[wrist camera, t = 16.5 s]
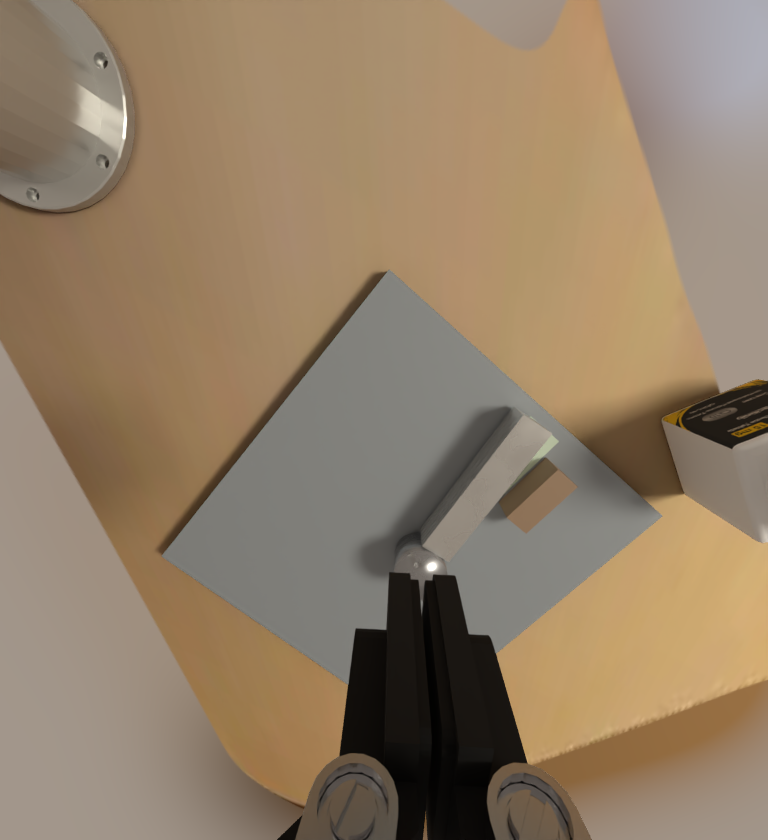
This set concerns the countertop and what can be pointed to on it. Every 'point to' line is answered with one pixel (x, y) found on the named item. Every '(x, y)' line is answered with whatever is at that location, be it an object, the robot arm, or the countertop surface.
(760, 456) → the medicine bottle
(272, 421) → the latch plate
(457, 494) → the swing bar
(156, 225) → the countertop surface
